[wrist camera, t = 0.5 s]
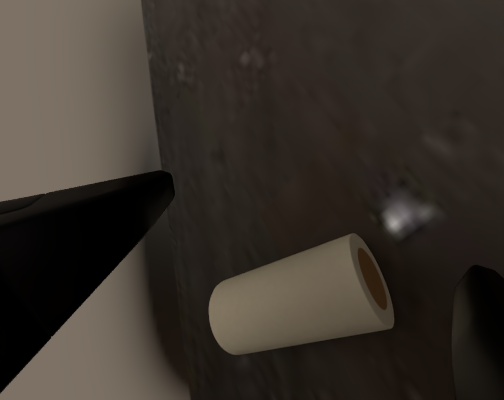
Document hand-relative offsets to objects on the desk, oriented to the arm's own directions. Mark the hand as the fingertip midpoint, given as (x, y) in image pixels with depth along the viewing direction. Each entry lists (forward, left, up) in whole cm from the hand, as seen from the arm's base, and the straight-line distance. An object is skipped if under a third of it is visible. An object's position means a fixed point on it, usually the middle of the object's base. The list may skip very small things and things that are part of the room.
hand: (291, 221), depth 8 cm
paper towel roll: (-5, +7, -14) cm, 16 cm away
